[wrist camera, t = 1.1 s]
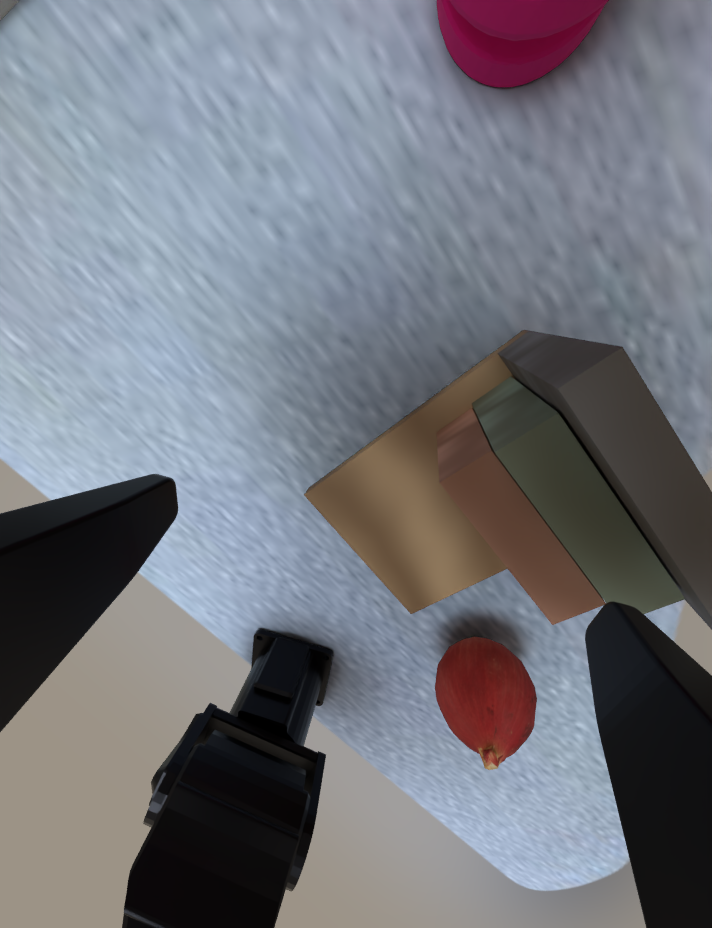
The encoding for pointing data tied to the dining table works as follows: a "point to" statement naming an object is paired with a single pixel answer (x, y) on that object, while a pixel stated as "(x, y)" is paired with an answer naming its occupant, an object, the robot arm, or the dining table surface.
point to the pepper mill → (514, 36)
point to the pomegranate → (486, 698)
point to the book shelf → (532, 488)
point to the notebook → (6, 6)
